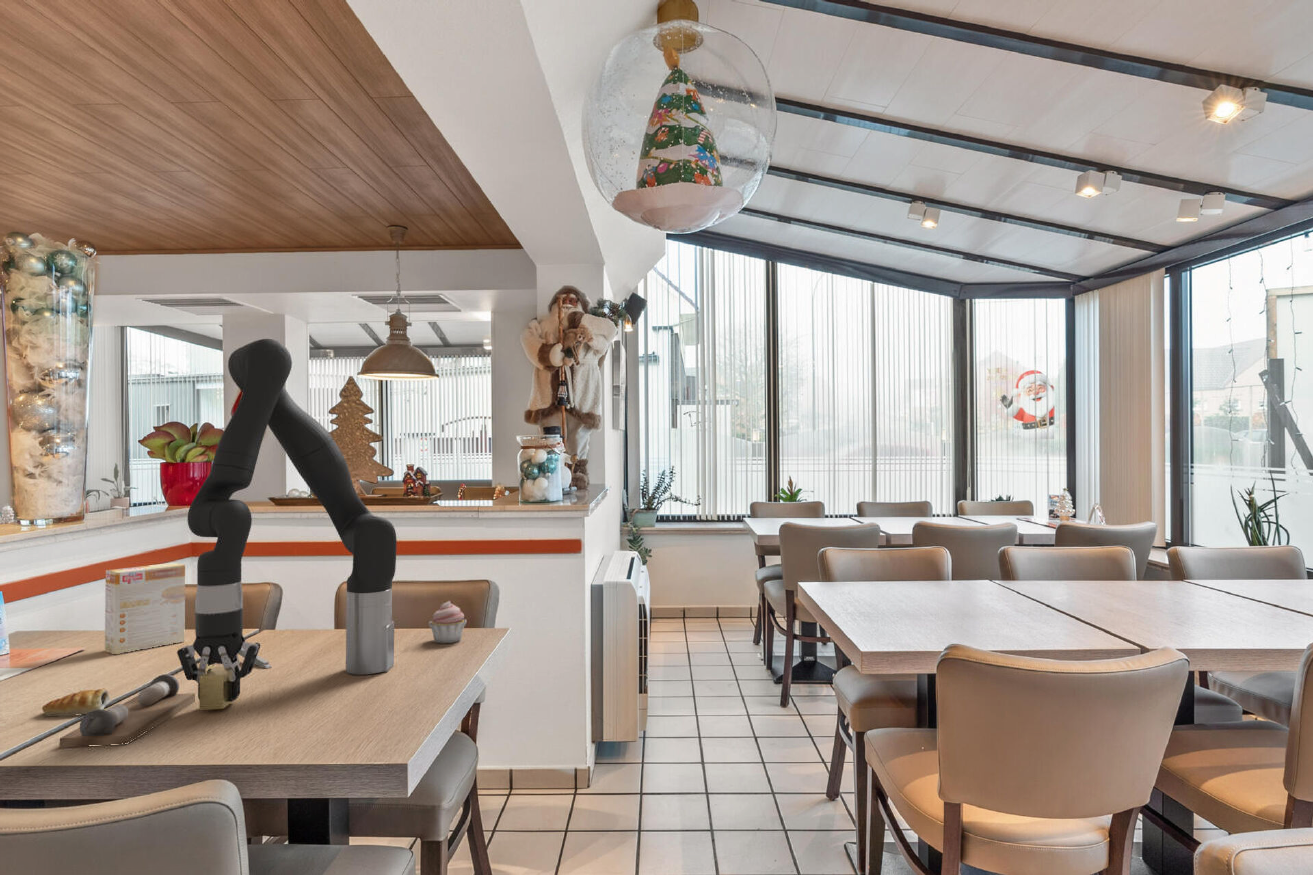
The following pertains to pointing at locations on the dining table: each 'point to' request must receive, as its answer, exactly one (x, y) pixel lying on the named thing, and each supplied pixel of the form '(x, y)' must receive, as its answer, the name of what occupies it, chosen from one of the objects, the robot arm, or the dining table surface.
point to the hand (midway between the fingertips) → (219, 700)
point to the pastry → (78, 703)
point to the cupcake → (447, 624)
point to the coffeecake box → (144, 607)
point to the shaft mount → (130, 715)
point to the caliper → (257, 660)
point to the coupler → (214, 689)
